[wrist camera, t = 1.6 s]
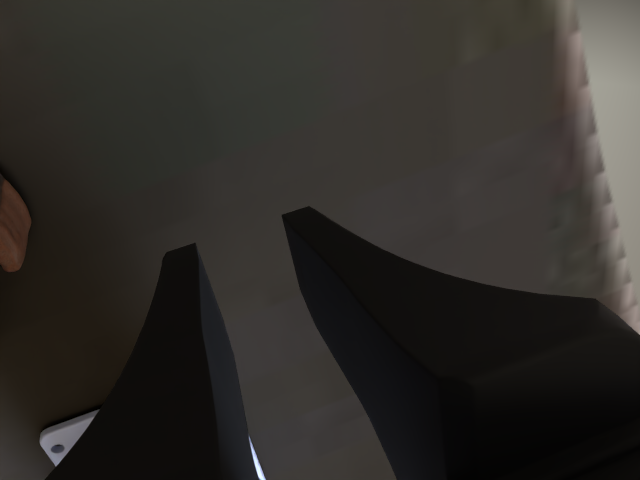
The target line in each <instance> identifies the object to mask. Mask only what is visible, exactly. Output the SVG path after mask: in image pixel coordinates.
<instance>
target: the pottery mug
mask: <svg viewBox="0 0 640 480" xmlns="http://www.w3.org/2000/svg"><path fill="white" fill-rule="evenodd" d="M30 226H31V217H30V215H29V211H28V209H27V206H26V205H25V203H24V201H23V200H22V198H21V197H20V195H19V194H18V192H17V191H16V190H15V189H14V188H13V187H12V186H11V184H10V183H9V182H8V181H7V180H5V179H4V178H3V176H2V174H1V173H0V264H1V266H2V268H3V270H4V271H6V272H14V271H17V270H19V269H20V268H21V266H22V264H23V261H24V258H25V253H26V247H27V241H28V232H29V229H30Z"/></svg>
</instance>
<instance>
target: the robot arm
mask: <svg viewBox="0 0 640 480" xmlns="http://www.w3.org/2000/svg"><path fill="white" fill-rule="evenodd" d="M282 219H283V223H284V227H285V231H286V235H287V239H288V243H289V247H290V251H291V255H292V259H293V263H294V267H295V271H296V275H297V279H298V283H299V287H300V290H301V293H302V295H303V297H304V300H305V302H306V304H307V307H308V309H309V311H310V314H311V316H312V318H313V321H314V323H315V325H316V327H317V329H318V331H319V332H320V334H321V336H322V337H323V339H324V341H325V343H326V344H327V346H328V348H329V349H330V351H331V353H332V354H333V356H334V358H335V360H336V361H337V363H338V365H339V366H340V368H341V370H342V371H343V373H344V375H345V376H346V378H347V380H348V381H349V383H350V385H351V387H352V388H353V390H354V392H355V393H356V395H357V397H358V398H359V400H360V402H361V404H362V405H363V407H364V409H365V411H366V413H367V415H368V417H369V419H370V421H371V423H372V425H373V427H374V429H375V432H376V434H377V436H378V438H379V440H380V442H381V445H382V447H383V449H384V451H385V453H386V456H387V458H388V460H389V462H390V464H391V467H392V469H393V471H394V473H395V476H396V478H397V480H640V335H639V334H638V333H637V332H636V331H634V330H633V329H632V328H631V327H630V326H629V325H628V324H627V323H625V322H624V321H623V320H622V319H621V318H620V317H619V316H618V315H616V314H615V313H614V312H612V311H611V310H610V309H608V308H607V307H606V306H605V305H603V304H602V303H600V302H599V301H598V300H596V299H593V298H581V297H570V296H558V295H547V294H538V293H531V292H525V291H518V290H512V289H506V288H501V287H496V286H491V285H486V284H482V283H478V282H474V281H470V280H466V279H462V278H458V277H454V276H451V275H448V274H444V273H441V272H438V271H435V270H432V269H430V268H427V267H424V266H421V265H418V264H415V263H413V262H410V261H408V260H405V259H403V258H401V257H398V256H396V255H394V254H392V253H390V252H388V251H385V250H383V249H381V248H379V247H377V246H375V245H373V244H372V243H370V242H368V241H366V240H364V239H362V238H361V237H359V236H357V235H355V234H353V233H352V232H350V231H348V230H347V229H345V228H343V227H342V226H340V225H339V224H337V223H335V222H334V221H332V220H331V219H329V218H327V217H326V216H324V215H323V214H321V213H320V212H318V211H316V210H315V209H313V208H311V207H310V206H308V207H305V208H302V209H299V210H295V211H292V212H289V213H286V214H283V215H282ZM39 442H40V445H41V447H42V448H43V449H44V451H45V452H46V453H47V455H48V456H49V458H50V459H51V460H52V462H53V463H54V465H55V466H56V467H55V469H54V470H53V471H52V472H51V473H50V474H49V475H48V477H47V478H46V479H45V480H266V478H265V476H264V473H263V471H262V468H261V465H260V463H259V460H258V458H257V455H256V453H255V450H254V447H253V445H252V442H251V440H250V437H249V434H248V429H247V424H246V418H245V413H244V407H243V402H242V396H241V391H240V385H239V380H238V374H237V369H236V363H235V358H234V354H233V351H232V347H231V344H230V341H229V337H228V334H227V331H226V328H225V324H224V321H223V318H222V315H221V312H220V309H219V307H218V304H217V301H216V298H215V296H214V293H213V290H212V287H211V285H210V282H209V279H208V276H207V274H206V271H205V268H204V265H203V262H202V260H201V257H200V254H199V251H198V249H197V246H196V243H194V244H190V245H187V246H184V247H181V248H178V249H175V250H172V251H169V252H166V254H165V256H164V257H163V260H162V266H161V271H160V275H159V279H158V283H157V286H156V290H155V293H154V297H153V299H152V302H151V305H150V308H149V311H148V314H147V317H146V320H145V323H144V325H143V327H142V330H141V332H140V334H139V337H138V339H137V342H136V344H135V346H134V349H133V351H132V353H131V355H130V357H129V359H128V361H127V363H126V365H125V367H124V369H123V371H122V373H121V375H120V377H119V378H118V380H117V382H116V384H115V386H114V387H113V389H112V391H111V392H110V394H109V395H108V397H107V399H106V400H105V402H104V403H103V405H102V407H101V408H100V409H98V410H96V411H93V412H90V413H87V414H85V415H82V416H79V417H76V418H74V419H71V420H68V421H65V422H62V423H60V424H57V425H54V426H51V427H49V428H47V429H45V430H43V431H42V432H41V434H40V441H39ZM58 444H59V445H60V446H54V445H58Z"/></svg>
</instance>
